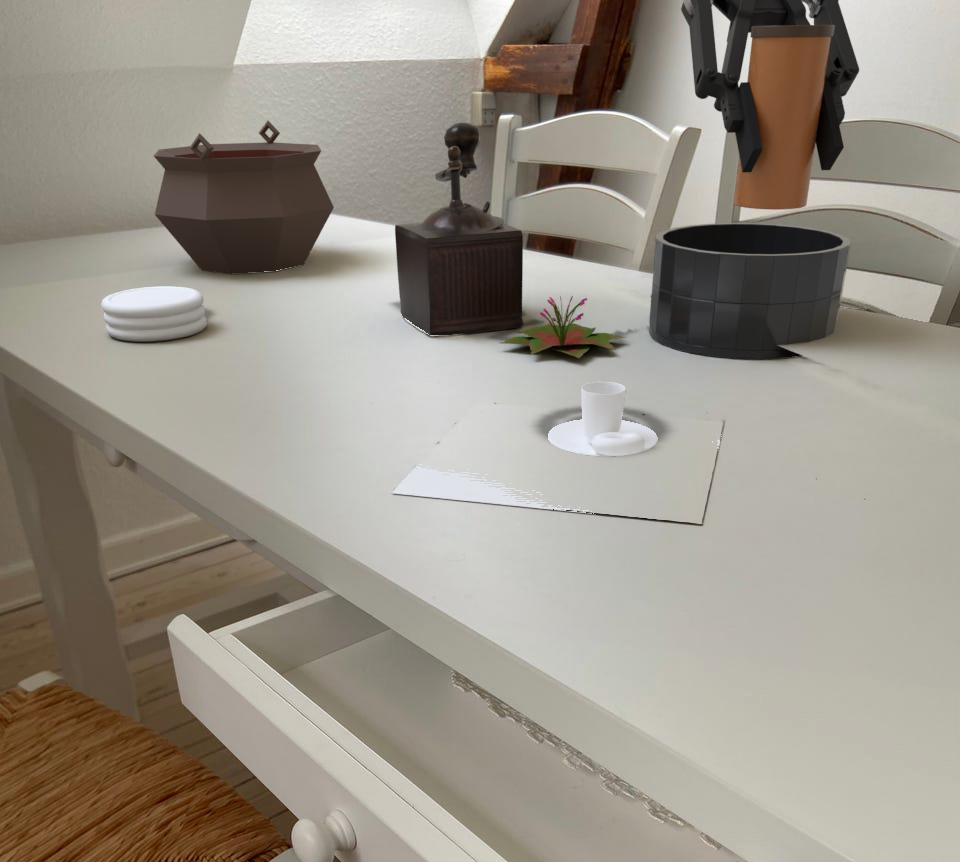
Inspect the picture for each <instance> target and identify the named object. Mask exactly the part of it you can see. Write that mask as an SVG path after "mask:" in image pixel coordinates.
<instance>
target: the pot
mask: <svg viewBox="0 0 960 862" xmlns="http://www.w3.org/2000/svg"><path fill="white" fill-rule="evenodd" d="M851 245H852V241H851V240H850V239H849V238H848V237H847V236H845V235H842V234H839V233H837V232H835V231H834V232H833V231H829V230H826V229H825V230H824V229H820V228H814V227H808V226H807V227H806V226H799V225H790V224H780V223H779V224H777V223H776V224H775V223H759V222H756V223H754V222H724V223H723V222H721V223H720V222H719V223H702V224H690V225H684V226H677V227H672V228H669V229H665V230H662V231H660V232H658V233H657V234H656V235H655V241H654V252H653V254H654V255H653V265H652V266H653V268H652V280H651V281H652V283H651V294H650V305H649V307H650V308H649V321H648V322H649V323H648V325H649V326H648V334H649V336H650V337H651V339H653V340H654V341H655V342H656V343H658V344H660V345H663V346H665V347H668V348H671V349H674V350H677V351H681V352H685V353H688V354H693V355H694V354H695V355H700V356H706V357H713V358H723V359H724V358H726V359H735V360H736V359H737V360H777V359H788V358H789V359H790V358H797V357H803V354H800V353H798V352H795V351H794V350H793V351H792V350H790V349H787V348H785V347H783V346H789V345H796V344H797V345H798V344H803V343H804V344H805V343H811V342H813V341H817V340H821V339H825V338H827V337H829V336H831V335H832V334H834V333H835V332H836V330H837V327H838V322H839V315H840V309H841V304H842V298H843V292H844V286H845V281H846V275H847V267H848V262H849V256H850V251H851V247H852V246H851Z"/></svg>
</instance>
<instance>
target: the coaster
mask: <svg viewBox="0 0 960 862" xmlns="http://www.w3.org/2000/svg"><path fill="white" fill-rule="evenodd" d="M204 301H205V300H204V296H203V294H202V293H201V292H200V291H198V289H195V288H190V287H185V286H174V285H173V286H169V285H167V286H166V285H164V286H163V285H161V286H160V285H159V286H147V287H146V286H145V287H136V288H130V289H125V290H121V291H117V292H114V293H111V294H108V295H106V296H105V297H104V298H103V299H102V301H101V305H100V307H101V309H102V311H103V320H104V321H105V330H106V332H107V334H108V335H109V336H110V337H112V338H113V339H116V340H118V341H119V340H120V341H125V342H140V343H143V342H146V343H147V342H148V343H149V342H163V341H164V342H165V341H170V340H171V341H172V340H176V339H177V340H178V339H182V338H186V337H190V336H193V335H195V334H198V333H200V332H202V331H203V330H204V329H205V328H206V327H207V322H208V319H207V318H206V316H205V314H206V308H205V305H203V304H204Z"/></svg>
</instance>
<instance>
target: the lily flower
mask: <svg viewBox="0 0 960 862" xmlns="http://www.w3.org/2000/svg"><path fill="white" fill-rule="evenodd" d="M573 297H574V295H572V296H571V297H570V299H569V302H568V305H567V308H566V311H565V313H564V317H563V316H562V313H560V312H561V311H560V309H561V310H563V303H562V297H561V295H559V299H560V304H561V305H560V306H561V308H560V307H559V305H558V306H557V304H556V301H555V300H554V299H553V298H552V296H549V299H546V302H547V303H548V304H549V305H550V306H551V307H552V308H553V311H554V314H555V317H556V318H555V317H552V316H551V314H550V313H549V311H548V310H547V309H546V308H543V312H540V313H539V315H540V316H541V317H543V318H544V319H546V320H547V321H548V322H549V323H548V324H545V325H541V326H531V327H527V328H524V329H521V330H518V331H514V332H511V333H512V334H523V335H526V336H523V335H521V336H519V335H518V336H512V337H510V338H507V339H506V340H504V341H500V344H504V345H505V344H506V345H507V344H509V345H523V346H529V349H530V354H529V356H532V355H534V354H536V353H539V352H541V351H543V350H546V349H549V348H550V349H551V350H553V351H556V352H561V353H564V354H567V355H568V356H569V355H570V356H573V357H575V358H577V359H580V358H581V357H582V356H583V355H584V354H585V353H587V352H588V351H589V350H590V347H589V346H587V345H594V346H598V347H602V348H605V349H609V350H613V351H617V349H616V348H615V347H614V345H613V344H612V343H611V342H610V341H612V340H619V339H623V338H624V339H626V338H627V336H621V335H617V334H612V333H608V332H595V331H596V329H597V327H592V328H591V327H587V326H582V325H579V324H576V323H574V322H576V321H579V320H582V317H583V316H584V312H582V313H580V314H577V315H576V317H575V318H573V319H572V317H573V315H574V313H575V311H576V310H577V308H578V307H580V306H581V307H582V306H583V305H585V302H586V301H588V297H585V298H583V299H581V301H579V303H577V304H576V305H575V306H574V307H573V308H572V309H571V311H569V309H570V306H571V305H570V304H571V303H572V301H573ZM547 315H548V317H549V318H548V317H547ZM555 322H556V323H557V324H556V323H555Z"/></svg>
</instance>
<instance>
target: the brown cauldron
mask: <svg viewBox="0 0 960 862" xmlns="http://www.w3.org/2000/svg"><path fill="white" fill-rule="evenodd" d="M268 130H270V131H271V132H272V134H271V135H270V136H269V135H268V134H267V131H268ZM280 134H281V132H280V131H279V130H278V129H277V128H276V127H275V126H274V125H273V124H272V123H271V122H270V121H269V120H266V122H265V123H264V125H263V126H262V128H261V129H260V130H259V131H258V135H260V136H261V137H262V139H264V141H265V142H237V143H235V142H233V143H231V142H230V143H210V142H209V141H208V140H207V139H206V138H205V137H204V136H203V135H202V134H201V133H198V135H197V136H196V137H195V139H194V140H193V141H192V143H191V144H190V146H189V145H188V146H179V147H178V146H177V147H170V148H160V149H157V151H156V152H155V153H154V155H153V157H154V159H155V160H156V161H157V162H158V163H159V164H160V166H161V167H162V168H163V169H164V172H163V176H162V180H161V184H160V189H159V193H158V198H157V203H156V207H155V211H154V216H155V217H156V218H157V220H158V221H159V222H160V223H161V224H162V225H163V226H164V227H165V229H166V230H167V231H168V232H169V234H170V235H171V236H172V238H174V239H175V241H176V242H177V243H178V244H179V245H180V247H181V248H182V249H183V250H184V251H185V253H186V254H187V255H188V256H189V257H190V258H191V259H192V261H193V262H194V263H195V264H196V266H197V267H198V268H199V269H200V270H201V271H205V272H206V271H207V272H214V273H220V272H222V273H221V274H227V273H230V274H229V275H233V274H232V273H243V274H249V273H248V272H263V273H265V272H264V271H276V270H280V269H284V270H286V269H285V268H289V267H293V268H295V267H294V266H297V267H299V266H298V265H301V266H303V265H302V264H304V265H305V263H306V261H307V259H308V258H309V256H310V254H311V252H312V250H313V248H314V246H315V244H316V242H317V240H318V239H319V236H320V234H321V233H322V231H323V230H324V228H325V225H326V223H327V221H328V219H329V217H330V216H331V214H332V212H333V210H334V209H335V207H334V205H333V202H332V200H331V198H330V195H329V194H328V192H327V189H326V187H325V184H324V183H323V181H322V179H321V176H320V174H319V172H318V170H317V167H316V166H315V163H316V161H317V160H318V158H319V156H320V154H321V153H322V149H321V148H320V146H319V144H311V143H310V144H309V143H293V142H292V143H291V142H290V143H289V142H275V141H276V140H277V138H278V136H279V135H280ZM289 269H290V268H289ZM280 271H281V270H280ZM276 272H277V271H276Z"/></svg>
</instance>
